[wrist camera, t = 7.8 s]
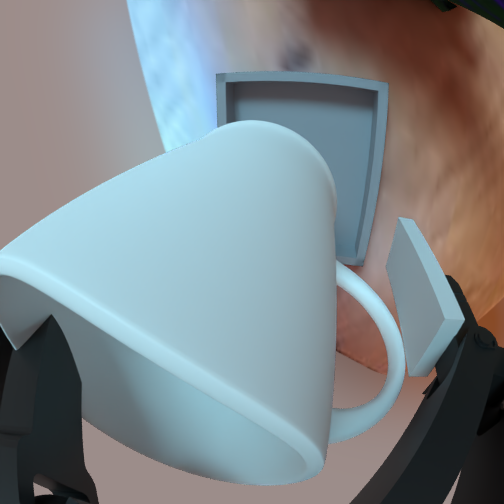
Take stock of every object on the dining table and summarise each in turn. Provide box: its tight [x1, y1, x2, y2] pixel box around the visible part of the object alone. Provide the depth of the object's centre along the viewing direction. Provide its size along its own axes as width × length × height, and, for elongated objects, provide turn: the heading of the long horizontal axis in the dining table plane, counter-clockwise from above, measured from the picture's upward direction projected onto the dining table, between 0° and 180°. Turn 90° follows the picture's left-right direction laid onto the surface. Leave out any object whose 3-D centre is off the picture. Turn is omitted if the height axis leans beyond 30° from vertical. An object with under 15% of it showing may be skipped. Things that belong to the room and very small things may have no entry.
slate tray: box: [216, 71, 389, 266], centre depth 23 cm, size 14×17×3 cm
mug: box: [0, 120, 405, 486], centre depth 9 cm, size 12×8×12 cm
